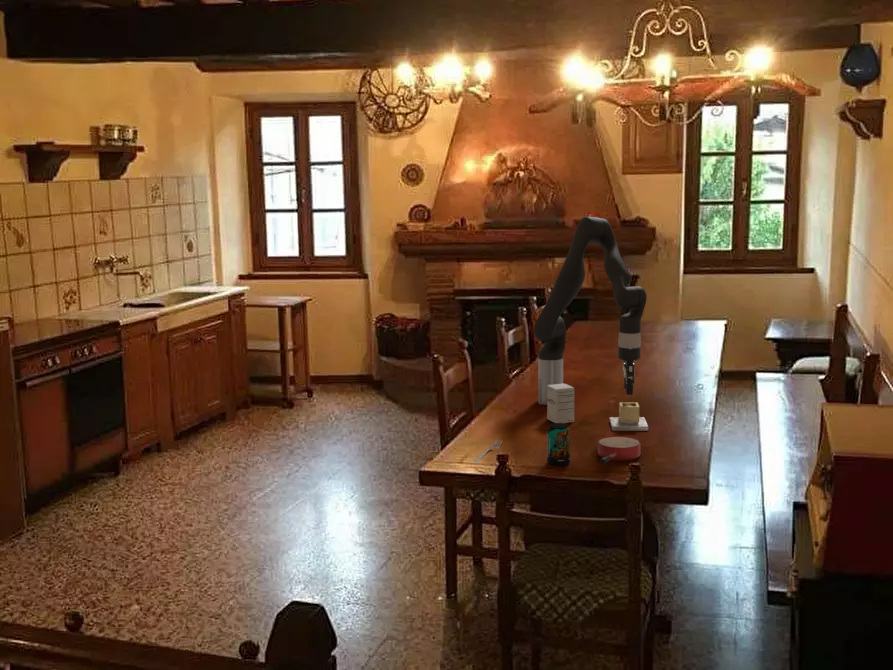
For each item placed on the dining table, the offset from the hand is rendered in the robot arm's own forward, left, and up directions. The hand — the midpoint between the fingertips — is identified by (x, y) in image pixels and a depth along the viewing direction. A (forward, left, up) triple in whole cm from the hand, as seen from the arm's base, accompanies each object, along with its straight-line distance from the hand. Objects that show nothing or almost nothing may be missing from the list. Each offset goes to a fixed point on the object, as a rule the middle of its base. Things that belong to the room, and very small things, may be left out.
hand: (628, 391), depth 350 cm
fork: (-47, -33, -13) cm, 59 cm away
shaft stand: (0, 0, -12) cm, 12 cm away
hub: (0, 0, -10) cm, 10 cm away
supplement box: (-23, +7, -12) cm, 27 cm away
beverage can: (-25, -43, -12) cm, 51 cm away
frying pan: (-7, -43, -13) cm, 45 cm away
